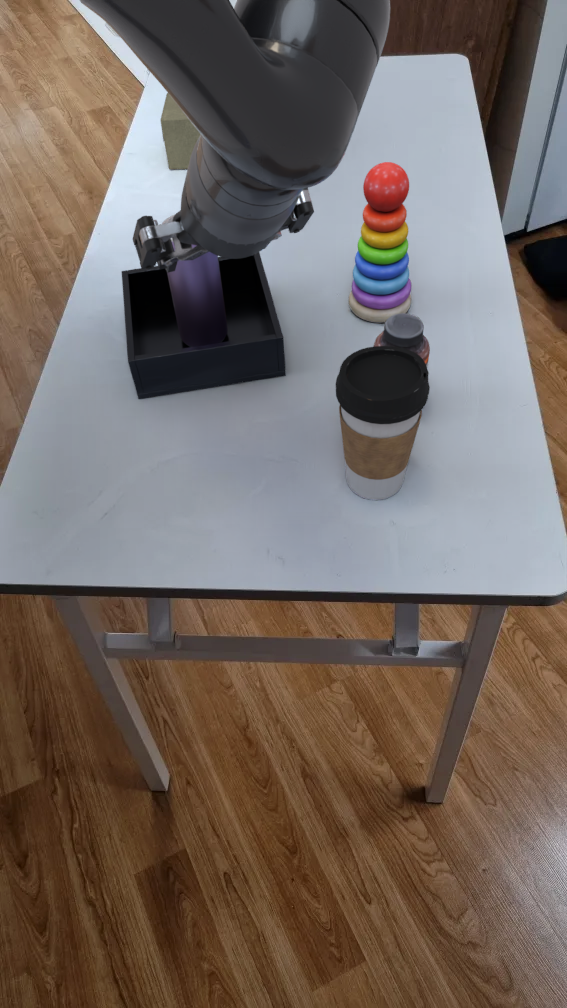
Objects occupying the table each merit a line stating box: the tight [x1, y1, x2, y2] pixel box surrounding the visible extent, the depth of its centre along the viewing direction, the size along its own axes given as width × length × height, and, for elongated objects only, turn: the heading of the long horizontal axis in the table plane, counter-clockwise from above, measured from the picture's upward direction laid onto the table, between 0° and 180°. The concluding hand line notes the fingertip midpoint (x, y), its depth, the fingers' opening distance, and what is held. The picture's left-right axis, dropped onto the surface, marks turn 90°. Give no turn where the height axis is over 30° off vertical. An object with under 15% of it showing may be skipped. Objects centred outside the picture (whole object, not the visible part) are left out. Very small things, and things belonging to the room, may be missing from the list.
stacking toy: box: [348, 161, 412, 324], centre depth 86 cm, size 8×8×19 cm
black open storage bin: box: [121, 252, 287, 400], centre depth 88 cm, size 18×18×6 cm
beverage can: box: [161, 214, 228, 347], centre depth 84 cm, size 6×6×15 cm
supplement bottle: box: [372, 312, 431, 367], centre depth 77 cm, size 6×6×11 cm
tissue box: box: [160, 92, 200, 171], centre depth 114 cm, size 19×10×16 cm, turn 90°
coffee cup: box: [335, 346, 430, 501], centre depth 69 cm, size 8×8×15 cm
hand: (212, 249), depth 65 cm, fingers open, 8 cm apart
